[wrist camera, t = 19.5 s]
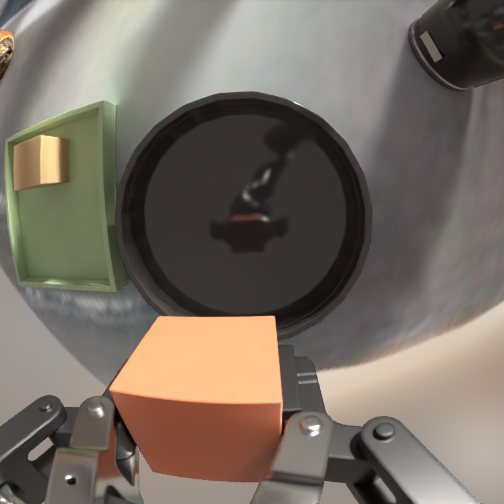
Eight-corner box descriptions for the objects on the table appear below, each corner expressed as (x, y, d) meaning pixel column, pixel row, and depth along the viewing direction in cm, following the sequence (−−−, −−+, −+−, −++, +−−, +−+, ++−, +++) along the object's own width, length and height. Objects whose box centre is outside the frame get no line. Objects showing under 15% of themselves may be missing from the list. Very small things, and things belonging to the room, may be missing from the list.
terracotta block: (274, 315, 10) (282, 401, 5) (275, 400, 11) (278, 482, 7) (158, 315, 10) (107, 388, 6) (178, 397, 11) (152, 472, 7)
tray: (116, 105, 20) (104, 99, 18) (127, 283, 25) (116, 292, 22) (17, 139, 21) (5, 139, 19) (29, 279, 25) (18, 285, 23)
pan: (355, 106, 20) (368, 97, 17) (349, 323, 25) (359, 339, 22) (127, 117, 21) (112, 110, 18) (146, 325, 26) (135, 340, 23)
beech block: (69, 138, 21) (41, 134, 16) (69, 182, 22) (40, 184, 17) (41, 148, 21) (13, 146, 16) (41, 188, 22) (13, 191, 18)
